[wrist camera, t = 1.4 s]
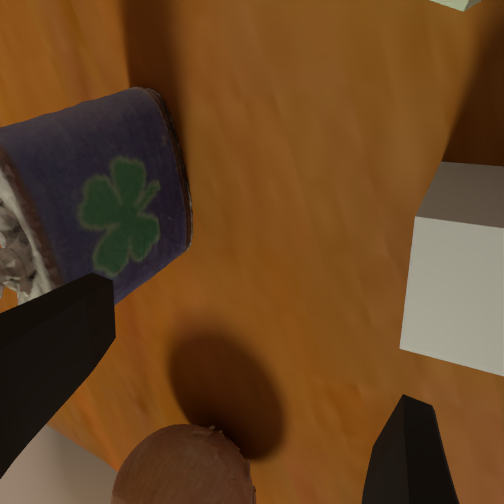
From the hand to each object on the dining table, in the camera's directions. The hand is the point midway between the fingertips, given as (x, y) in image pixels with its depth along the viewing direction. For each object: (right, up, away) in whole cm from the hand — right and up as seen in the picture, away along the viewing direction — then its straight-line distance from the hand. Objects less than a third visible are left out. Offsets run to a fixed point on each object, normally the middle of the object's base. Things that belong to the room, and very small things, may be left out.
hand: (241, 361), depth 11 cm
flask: (-4, +7, +13) cm, 15 cm away
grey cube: (+10, +3, +6) cm, 12 cm away
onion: (-2, -11, +23) cm, 25 cm away
